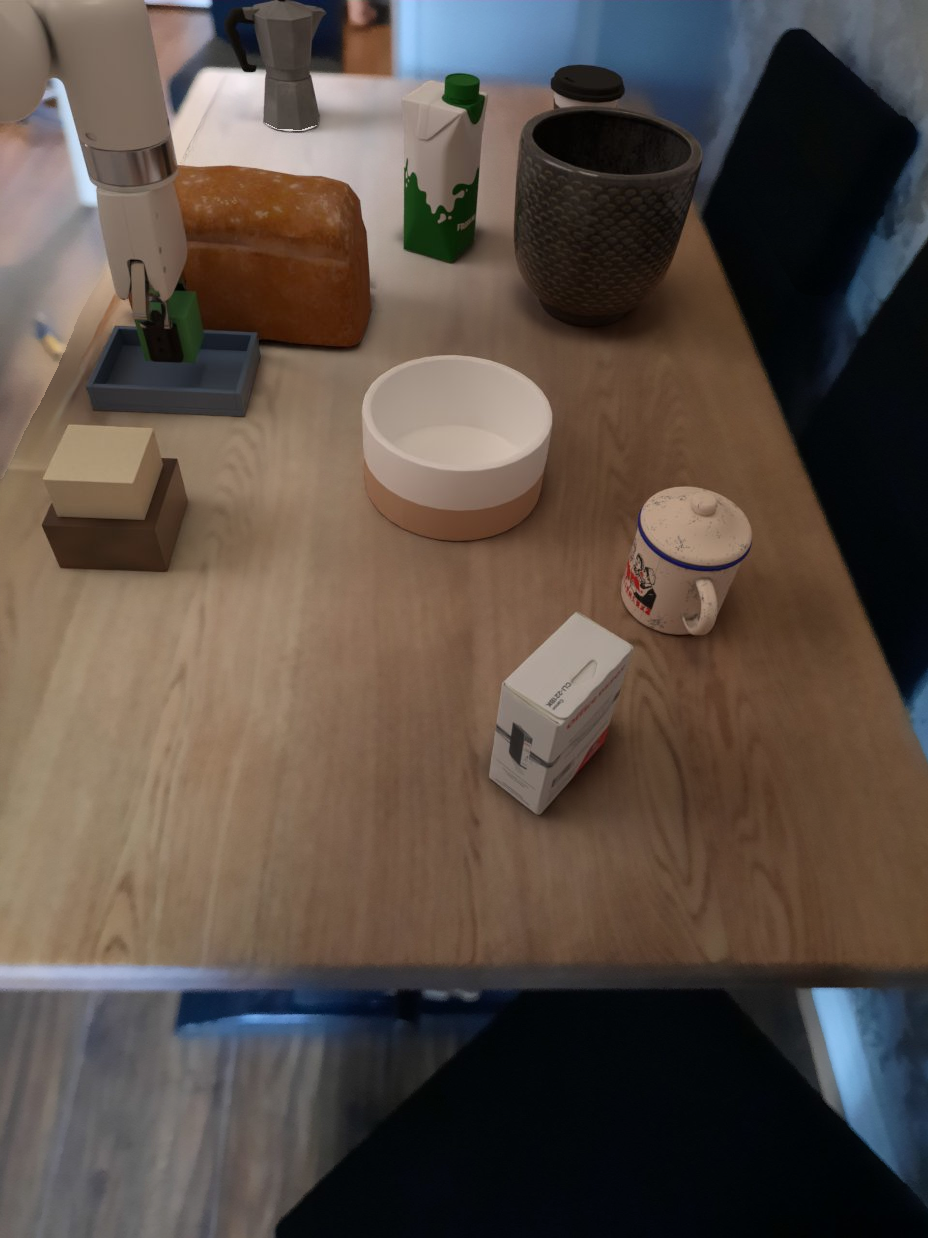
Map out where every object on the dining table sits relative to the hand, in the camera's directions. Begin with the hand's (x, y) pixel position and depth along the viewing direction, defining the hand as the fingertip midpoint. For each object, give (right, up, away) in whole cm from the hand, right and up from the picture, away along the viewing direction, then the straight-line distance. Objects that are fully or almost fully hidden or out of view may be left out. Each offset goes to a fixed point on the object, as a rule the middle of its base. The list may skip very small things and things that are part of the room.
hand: (173, 342), depth 87 cm
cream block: (0, -17, -15) cm, 23 cm away
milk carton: (+26, +21, +26) cm, 43 cm away
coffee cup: (+47, +43, +46) cm, 78 cm away
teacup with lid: (+48, -28, -13) cm, 57 cm away
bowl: (+29, -15, -4) cm, 32 cm away
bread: (+5, +7, +13) cm, 16 cm away
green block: (0, 0, +1) cm, 1 cm away
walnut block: (0, -21, -11) cm, 23 cm away
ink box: (+36, -39, -24) cm, 58 cm away
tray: (0, -3, +3) cm, 5 cm away
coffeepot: (+1, +51, +49) cm, 71 cm away
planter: (+44, +11, +19) cm, 49 cm away
